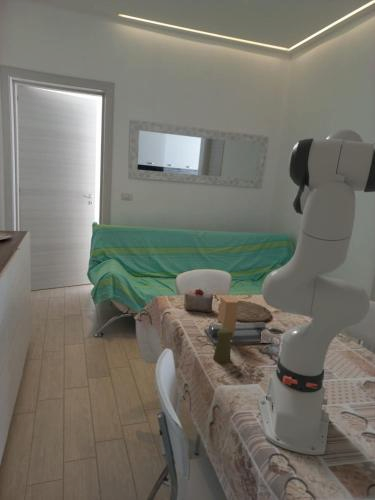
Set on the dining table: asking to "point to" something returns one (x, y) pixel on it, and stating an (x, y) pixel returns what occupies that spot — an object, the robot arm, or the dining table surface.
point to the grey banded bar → (237, 328)
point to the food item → (198, 301)
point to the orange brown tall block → (228, 313)
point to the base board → (239, 337)
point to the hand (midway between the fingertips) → (302, 272)
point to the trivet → (251, 312)
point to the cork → (223, 346)
